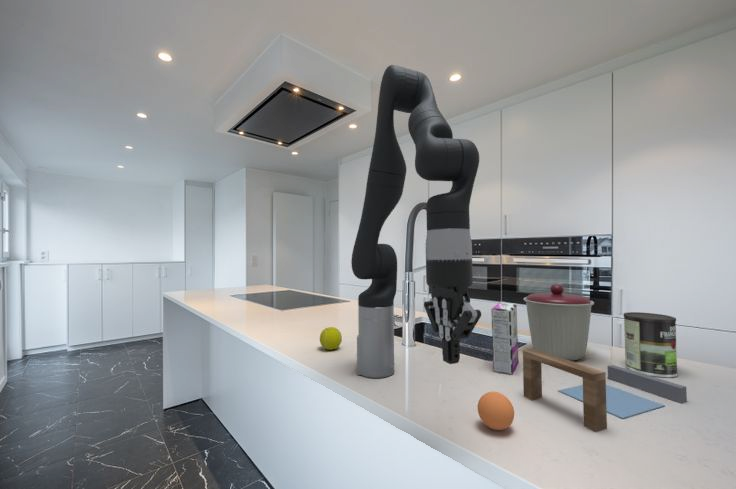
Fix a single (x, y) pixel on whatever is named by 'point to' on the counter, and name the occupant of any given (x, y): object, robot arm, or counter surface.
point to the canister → (559, 322)
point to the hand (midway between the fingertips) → (450, 362)
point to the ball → (496, 410)
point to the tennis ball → (330, 338)
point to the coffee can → (650, 344)
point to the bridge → (591, 377)
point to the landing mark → (618, 401)
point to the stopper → (648, 383)
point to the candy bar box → (505, 337)
